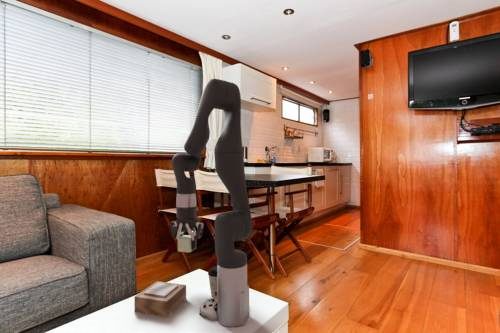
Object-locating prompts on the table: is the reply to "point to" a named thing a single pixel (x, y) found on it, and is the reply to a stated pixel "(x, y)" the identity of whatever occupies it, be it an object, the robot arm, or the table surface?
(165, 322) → the table surface
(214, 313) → the game controller
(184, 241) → the sage cube
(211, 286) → the coffee cup
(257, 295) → the table surface
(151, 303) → the walnut plinth
